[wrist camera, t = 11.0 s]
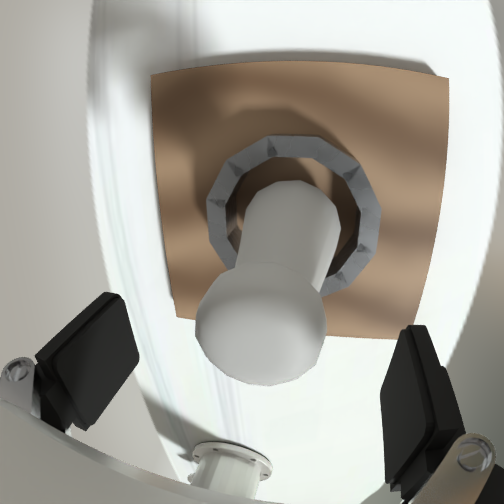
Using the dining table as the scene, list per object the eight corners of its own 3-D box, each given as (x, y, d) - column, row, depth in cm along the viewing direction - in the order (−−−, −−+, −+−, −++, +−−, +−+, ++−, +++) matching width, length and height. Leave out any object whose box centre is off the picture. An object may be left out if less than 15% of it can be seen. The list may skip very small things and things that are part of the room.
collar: (363, 286, 21) (366, 306, 19) (224, 275, 24) (213, 292, 21) (379, 139, 17) (386, 142, 15) (216, 134, 19) (202, 137, 17)
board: (405, 328, 24) (408, 339, 22) (183, 307, 28) (176, 317, 27) (440, 80, 15) (448, 78, 14) (160, 76, 20) (150, 75, 18)
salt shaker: (241, 185, 20) (133, 283, 9) (325, 162, 18) (327, 243, 7) (267, 263, 22) (207, 410, 11) (346, 246, 20) (359, 402, 9)
